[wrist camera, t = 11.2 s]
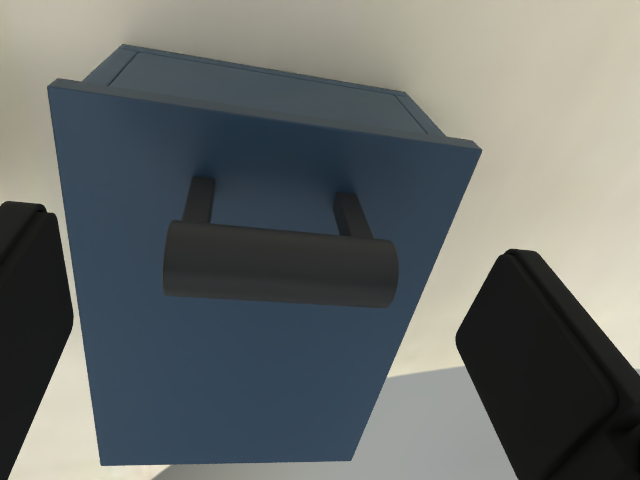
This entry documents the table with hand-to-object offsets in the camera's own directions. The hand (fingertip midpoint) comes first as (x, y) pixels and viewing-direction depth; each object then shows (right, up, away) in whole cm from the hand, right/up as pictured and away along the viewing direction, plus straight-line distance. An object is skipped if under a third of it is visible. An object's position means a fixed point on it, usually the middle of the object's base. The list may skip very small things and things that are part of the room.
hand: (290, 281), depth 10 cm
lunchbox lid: (-2, -3, +9) cm, 9 cm away
